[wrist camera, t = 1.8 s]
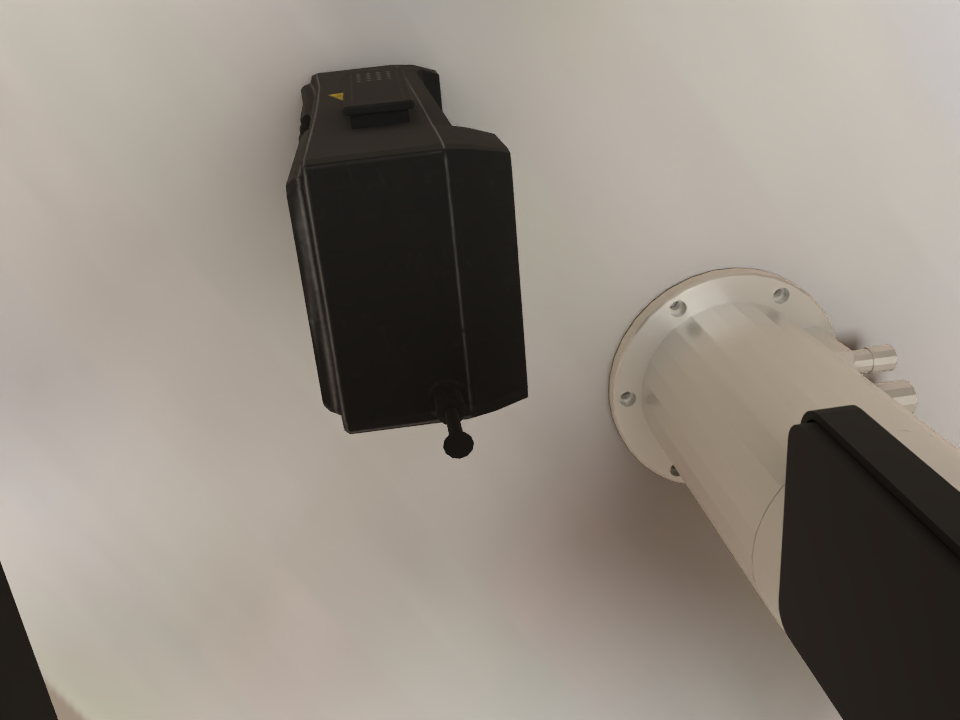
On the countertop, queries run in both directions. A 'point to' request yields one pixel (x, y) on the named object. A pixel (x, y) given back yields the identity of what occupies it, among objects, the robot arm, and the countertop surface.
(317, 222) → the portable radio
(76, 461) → the countertop surface
